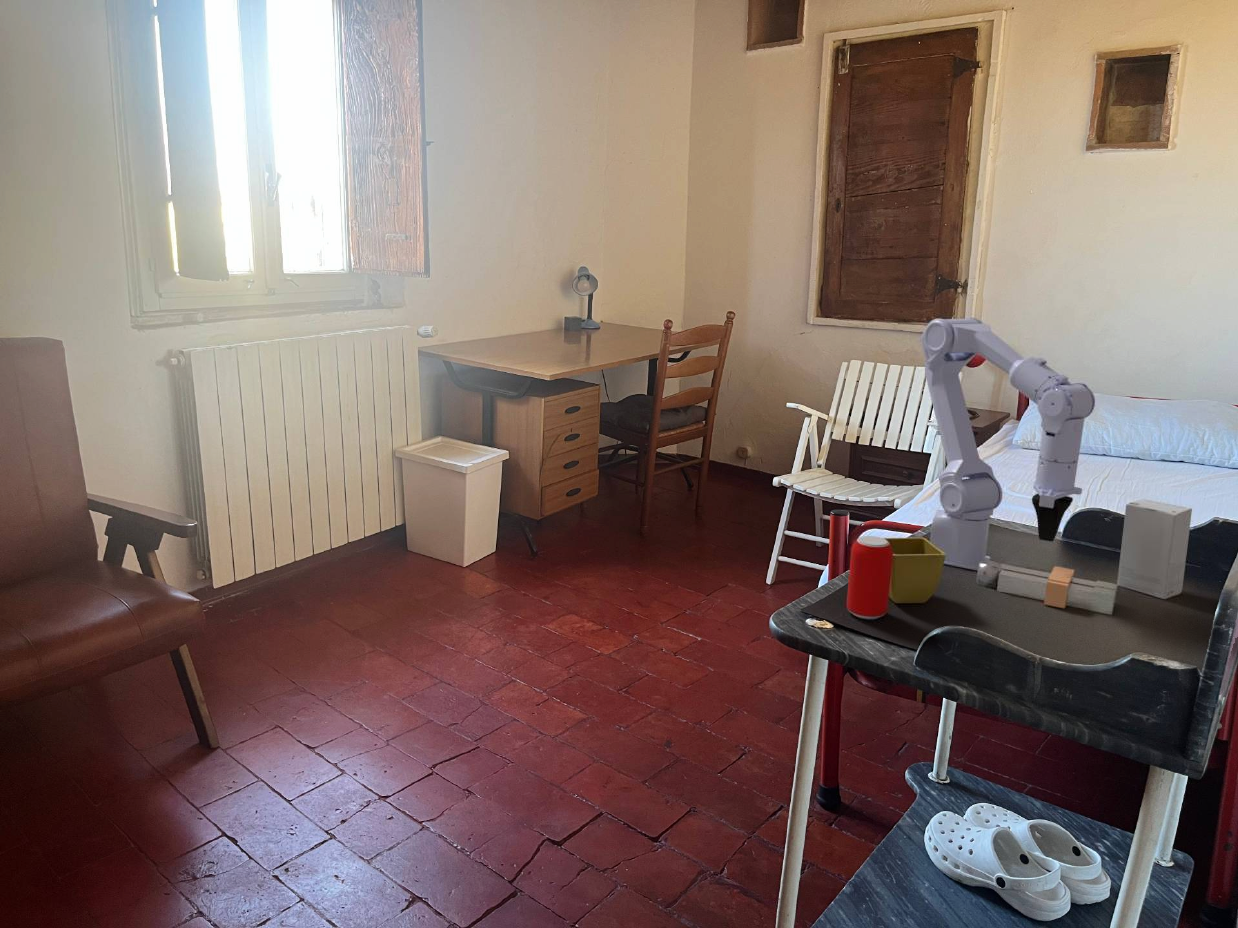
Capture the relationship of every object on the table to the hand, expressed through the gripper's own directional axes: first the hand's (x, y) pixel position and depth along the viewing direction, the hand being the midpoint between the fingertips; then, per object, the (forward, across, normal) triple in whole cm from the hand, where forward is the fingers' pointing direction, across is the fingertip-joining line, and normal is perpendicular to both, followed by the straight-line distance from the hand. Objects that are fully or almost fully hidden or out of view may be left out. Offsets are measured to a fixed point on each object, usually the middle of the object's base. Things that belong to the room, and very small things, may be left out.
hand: (1046, 539), depth 149 cm
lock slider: (+9, -2, -3) cm, 10 cm away
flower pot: (+10, -16, +18) cm, 26 cm away
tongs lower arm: (+9, -2, -3) cm, 10 cm away
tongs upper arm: (+9, 0, -1) cm, 9 cm away
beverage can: (+9, -26, +21) cm, 35 cm away
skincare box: (+9, +12, -15) cm, 22 cm away
